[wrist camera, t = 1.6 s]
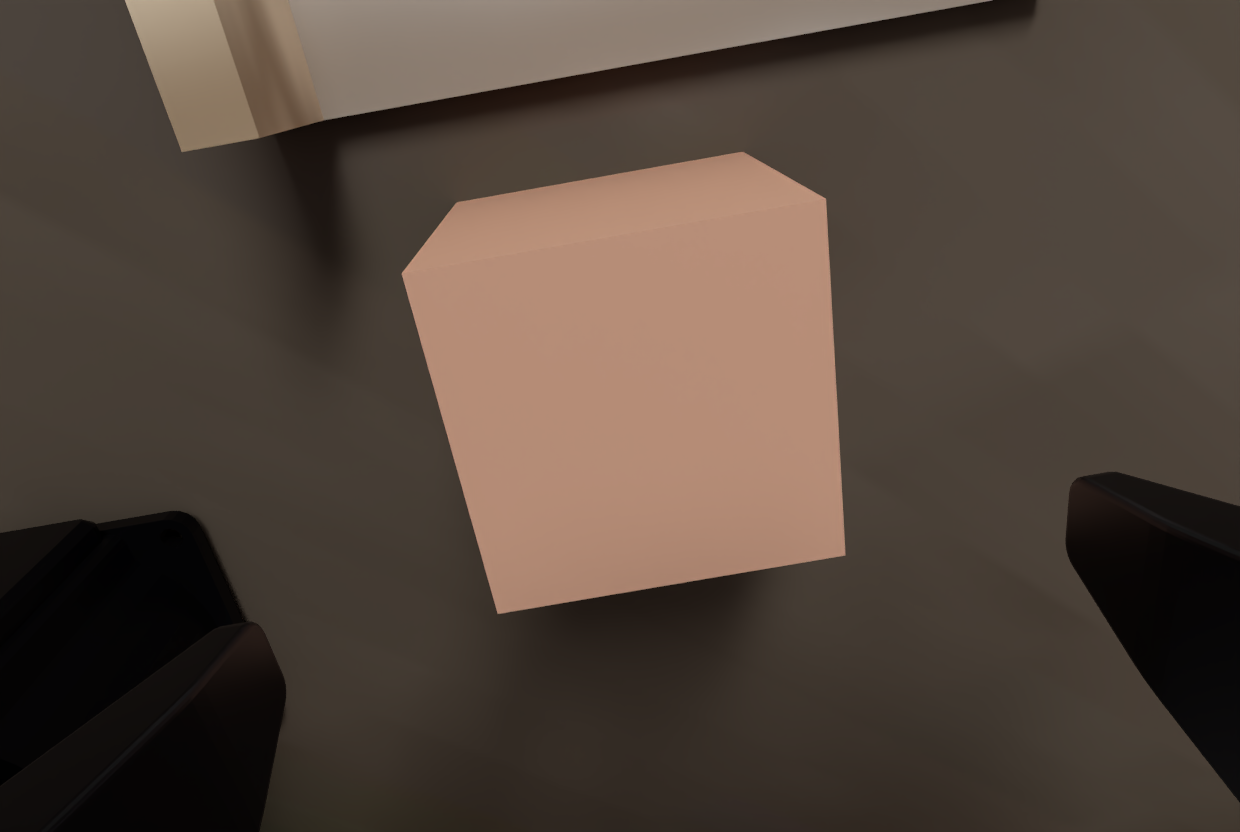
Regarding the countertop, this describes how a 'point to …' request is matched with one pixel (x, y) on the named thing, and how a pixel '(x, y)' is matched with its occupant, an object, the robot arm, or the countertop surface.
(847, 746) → the countertop surface
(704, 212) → the cube
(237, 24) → the tray
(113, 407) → the countertop surface
